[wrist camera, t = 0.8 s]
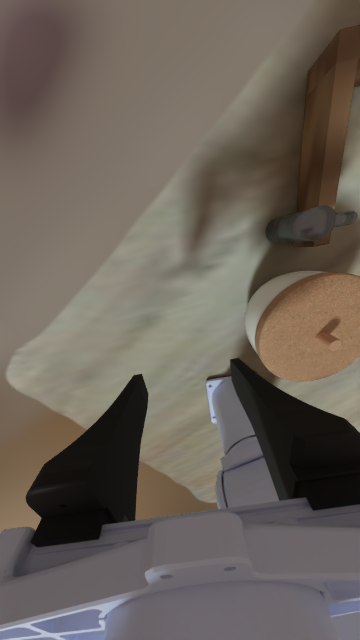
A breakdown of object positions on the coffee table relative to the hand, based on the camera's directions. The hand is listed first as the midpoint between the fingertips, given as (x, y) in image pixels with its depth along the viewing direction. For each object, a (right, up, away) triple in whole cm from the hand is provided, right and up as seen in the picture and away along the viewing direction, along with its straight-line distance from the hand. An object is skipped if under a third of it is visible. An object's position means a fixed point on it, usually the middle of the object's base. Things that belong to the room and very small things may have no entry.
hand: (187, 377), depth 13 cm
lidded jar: (+11, +6, +9) cm, 16 cm away
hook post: (+11, +14, +6) cm, 19 cm away
